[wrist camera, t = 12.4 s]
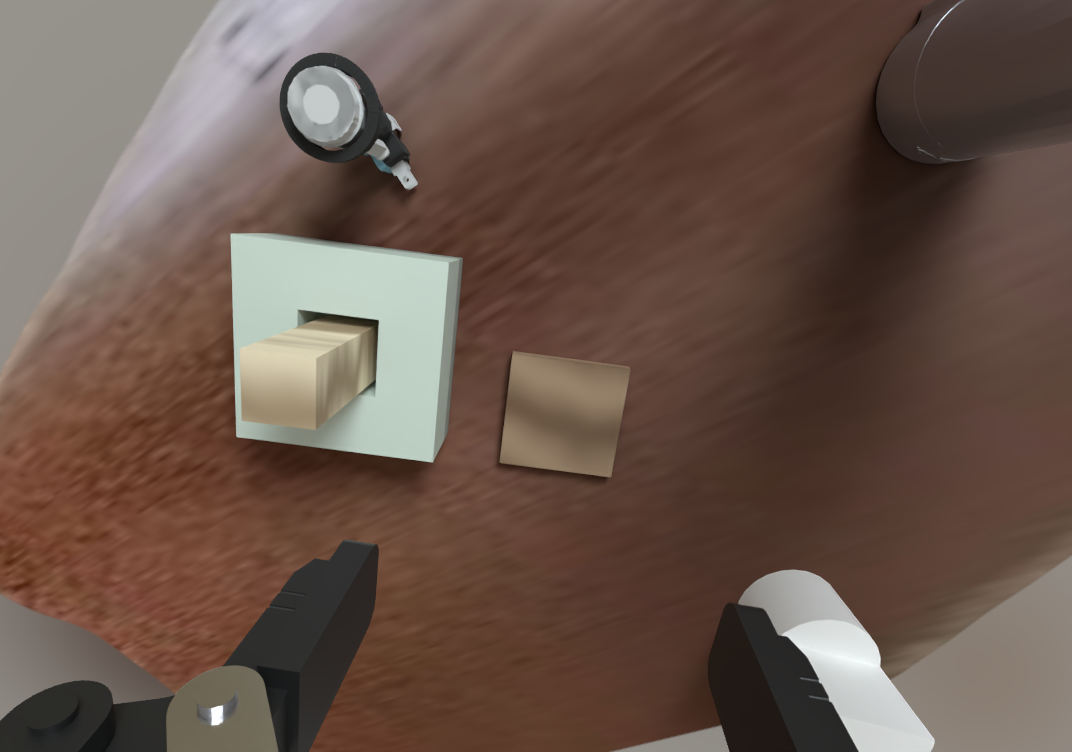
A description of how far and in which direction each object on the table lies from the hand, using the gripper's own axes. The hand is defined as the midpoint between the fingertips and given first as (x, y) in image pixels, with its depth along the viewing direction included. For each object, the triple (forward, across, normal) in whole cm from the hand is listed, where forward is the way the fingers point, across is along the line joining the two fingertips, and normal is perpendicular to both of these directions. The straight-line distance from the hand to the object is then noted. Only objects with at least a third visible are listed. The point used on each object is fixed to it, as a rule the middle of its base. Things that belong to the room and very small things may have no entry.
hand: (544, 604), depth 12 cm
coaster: (+29, -1, +6) cm, 30 cm away
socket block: (+29, +15, +3) cm, 33 cm away
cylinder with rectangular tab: (+30, -24, +22) cm, 44 cm away
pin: (+28, +15, +3) cm, 31 cm away
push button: (+30, +14, -11) cm, 35 cm away
